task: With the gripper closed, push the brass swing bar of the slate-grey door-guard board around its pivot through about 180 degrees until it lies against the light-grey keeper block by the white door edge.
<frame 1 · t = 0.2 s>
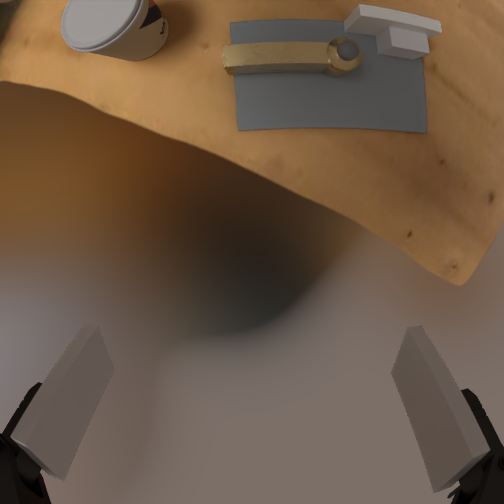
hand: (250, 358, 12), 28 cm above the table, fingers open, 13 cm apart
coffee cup: (141, 35, 29), on the table
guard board: (335, 73, 30), on the table
swing bar: (291, 57, 26), point 4 cm above the table, hinge at -90.0°
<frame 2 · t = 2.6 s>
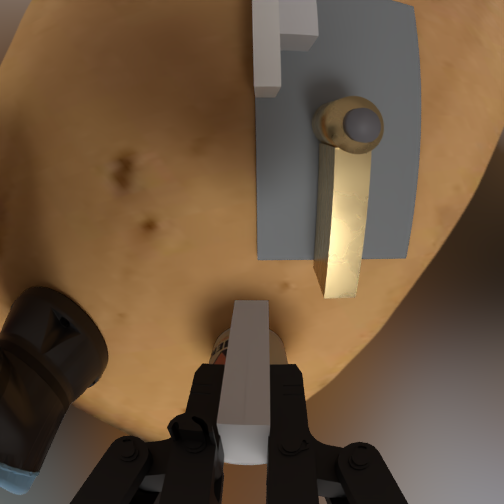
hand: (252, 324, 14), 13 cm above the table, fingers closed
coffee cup: (249, 350, 32), on the table
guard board: (341, 119, 22), on the table
swing bar: (341, 196, 20), point 4 cm above the table, hinge at -90.0°
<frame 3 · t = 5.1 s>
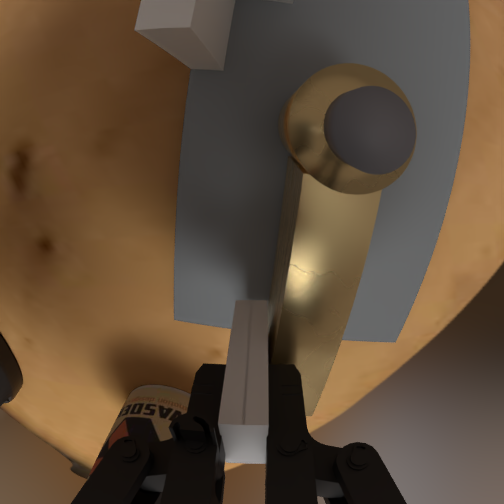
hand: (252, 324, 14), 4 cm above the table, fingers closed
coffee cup: (170, 410, 23), on the table
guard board: (335, 120, 13), on the table
swing bar: (312, 260, 12), point 4 cm above the table, hinge at -87.7°, touching gripper
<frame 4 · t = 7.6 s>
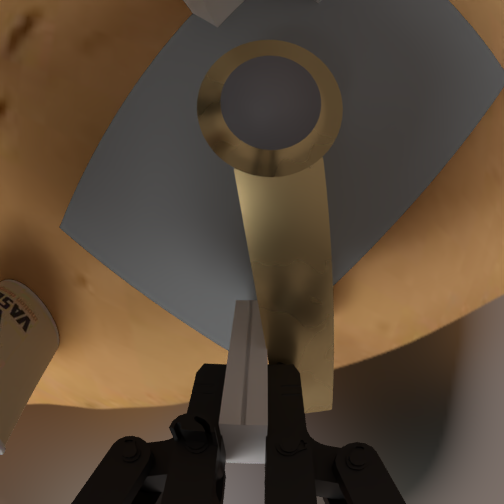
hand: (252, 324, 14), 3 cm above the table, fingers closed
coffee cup: (27, 317, 20), on the table
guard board: (291, 121, 13), on the table
swing bar: (289, 251, 11), point 4 cm above the table, hinge at -41.9°, touching gripper
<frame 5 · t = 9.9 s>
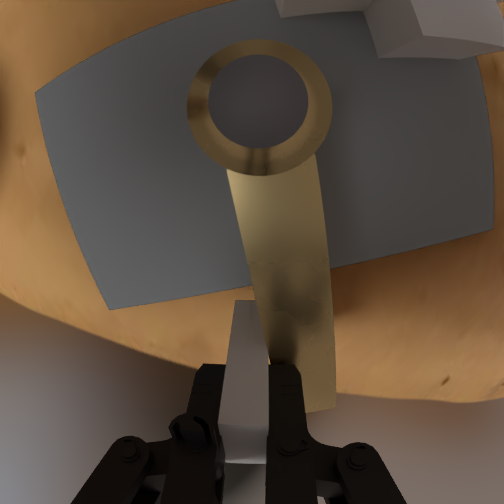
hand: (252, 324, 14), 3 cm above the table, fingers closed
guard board: (277, 133, 13), on the table
swing bar: (286, 250, 11), point 4 cm above the table, hinge at -2.7°, touching gripper
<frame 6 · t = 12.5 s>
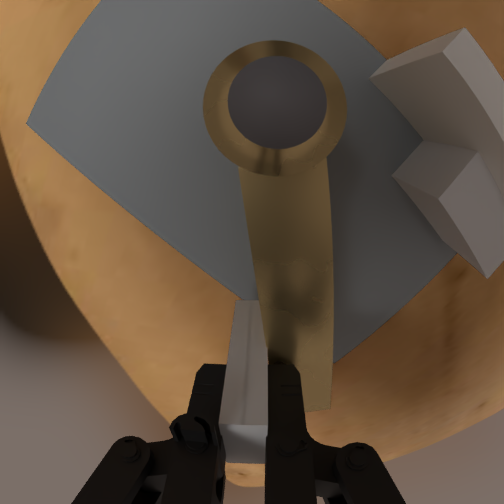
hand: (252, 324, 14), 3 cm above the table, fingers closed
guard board: (265, 138, 14), on the table
swing bar: (290, 251, 11), point 4 cm above the table, hinge at 48.4°, touching gripper
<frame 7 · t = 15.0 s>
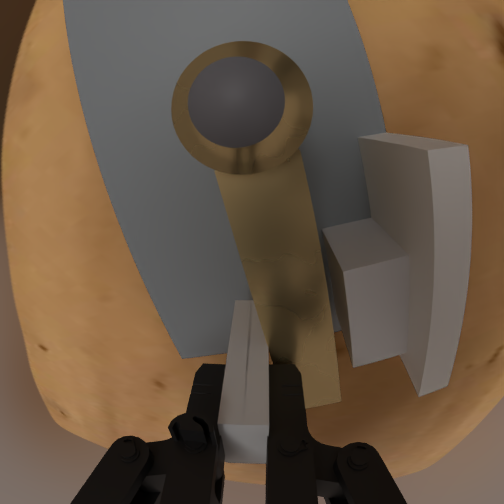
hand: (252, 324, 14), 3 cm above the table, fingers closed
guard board: (234, 131, 14), on the table
swing bar: (282, 247, 11), point 4 cm above the table, hinge at 89.6°, touching gripper
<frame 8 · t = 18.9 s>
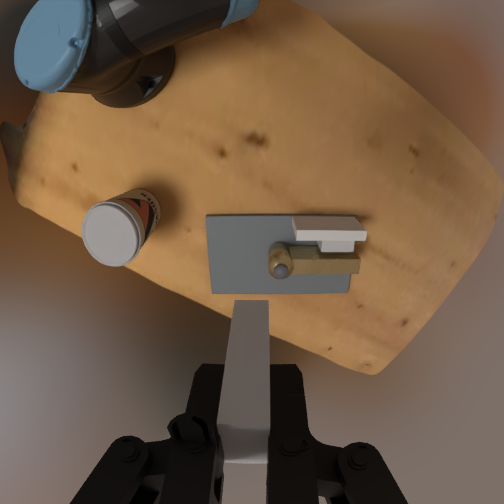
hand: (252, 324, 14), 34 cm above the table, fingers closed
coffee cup: (140, 210, 48), on the table
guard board: (281, 254, 50), on the table
swing bar: (313, 260, 45), point 4 cm above the table, hinge at 89.7°
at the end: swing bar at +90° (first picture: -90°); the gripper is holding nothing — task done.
